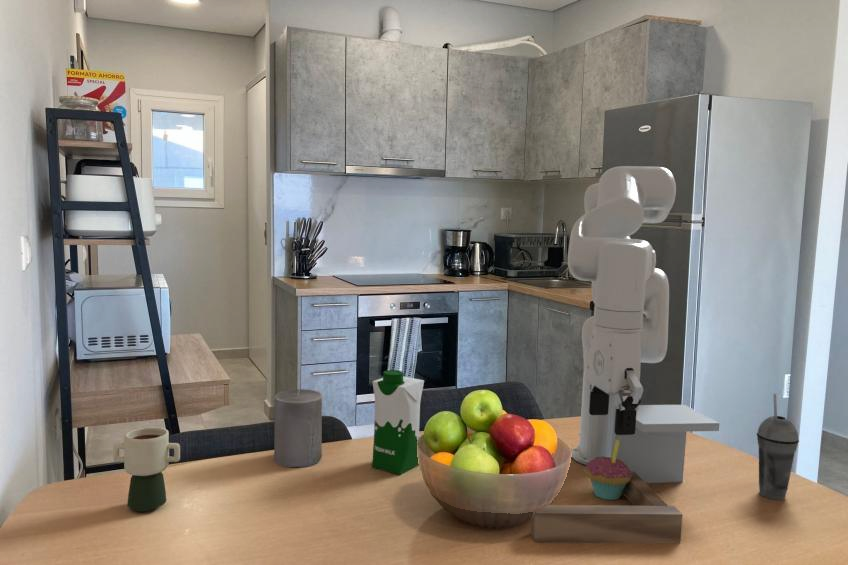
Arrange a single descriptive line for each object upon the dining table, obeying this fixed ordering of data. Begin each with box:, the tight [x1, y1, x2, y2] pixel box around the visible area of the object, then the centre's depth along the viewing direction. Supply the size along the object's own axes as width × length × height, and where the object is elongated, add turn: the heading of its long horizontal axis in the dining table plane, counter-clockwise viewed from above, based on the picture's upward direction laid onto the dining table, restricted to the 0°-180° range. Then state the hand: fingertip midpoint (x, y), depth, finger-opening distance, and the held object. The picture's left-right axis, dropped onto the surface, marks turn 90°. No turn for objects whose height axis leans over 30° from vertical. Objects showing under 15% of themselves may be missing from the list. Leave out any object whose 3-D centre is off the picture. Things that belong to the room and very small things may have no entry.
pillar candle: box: [273, 388, 323, 468], centre depth 142 cm, size 10×10×15 cm
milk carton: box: [371, 369, 425, 476], centre depth 140 cm, size 9×9×20 cm
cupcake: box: [584, 437, 632, 501], centre depth 130 cm, size 9×8×12 cm
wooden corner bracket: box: [530, 471, 683, 544], centre depth 121 cm, size 21×24×5 cm
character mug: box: [112, 426, 181, 512], centre depth 117 cm, size 11×7×13 cm, turn 97°
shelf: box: [611, 404, 720, 484], centre depth 132 cm, size 12×15×16 cm
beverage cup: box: [756, 393, 800, 501], centre depth 132 cm, size 7×7×20 cm
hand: (610, 423), depth 111 cm, fingers open, 9 cm apart
